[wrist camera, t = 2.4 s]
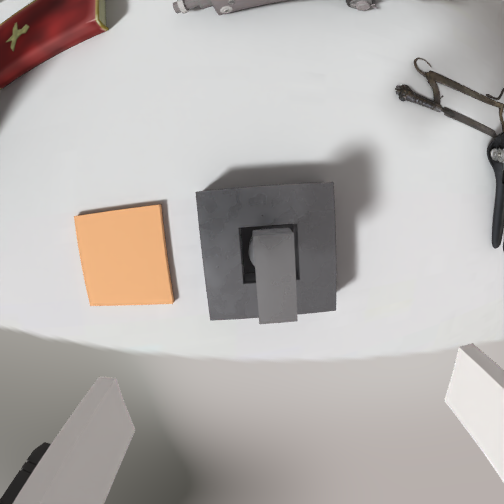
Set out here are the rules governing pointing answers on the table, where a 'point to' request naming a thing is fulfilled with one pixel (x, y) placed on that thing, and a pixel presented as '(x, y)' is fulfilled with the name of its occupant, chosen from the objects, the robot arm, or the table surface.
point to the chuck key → (274, 274)
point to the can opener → (498, 187)
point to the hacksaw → (432, 78)
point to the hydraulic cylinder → (248, 4)
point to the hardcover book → (46, 33)
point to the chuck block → (261, 214)
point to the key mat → (125, 257)
